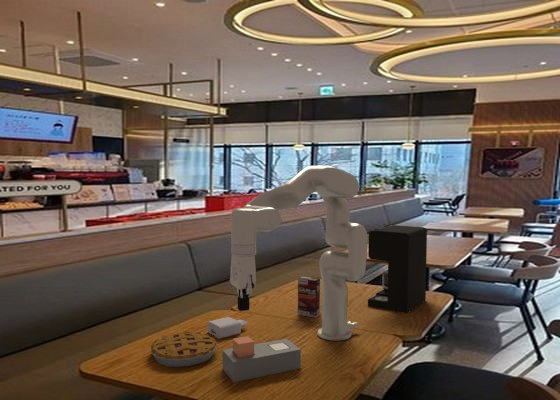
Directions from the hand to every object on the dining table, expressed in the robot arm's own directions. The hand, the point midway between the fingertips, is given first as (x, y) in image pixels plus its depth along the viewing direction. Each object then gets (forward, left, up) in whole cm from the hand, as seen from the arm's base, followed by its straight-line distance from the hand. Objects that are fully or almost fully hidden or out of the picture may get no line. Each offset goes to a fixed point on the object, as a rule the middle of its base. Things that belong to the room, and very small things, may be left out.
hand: (243, 309), depth 138 cm
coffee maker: (-92, -39, -20) cm, 102 cm away
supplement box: (-45, -40, -20) cm, 63 cm away
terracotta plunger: (0, 0, -15) cm, 15 cm away
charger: (-8, -36, -20) cm, 42 cm away
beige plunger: (-12, 0, -19) cm, 23 cm away
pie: (+13, -21, -20) cm, 32 cm away
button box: (-6, 0, -19) cm, 20 cm away
